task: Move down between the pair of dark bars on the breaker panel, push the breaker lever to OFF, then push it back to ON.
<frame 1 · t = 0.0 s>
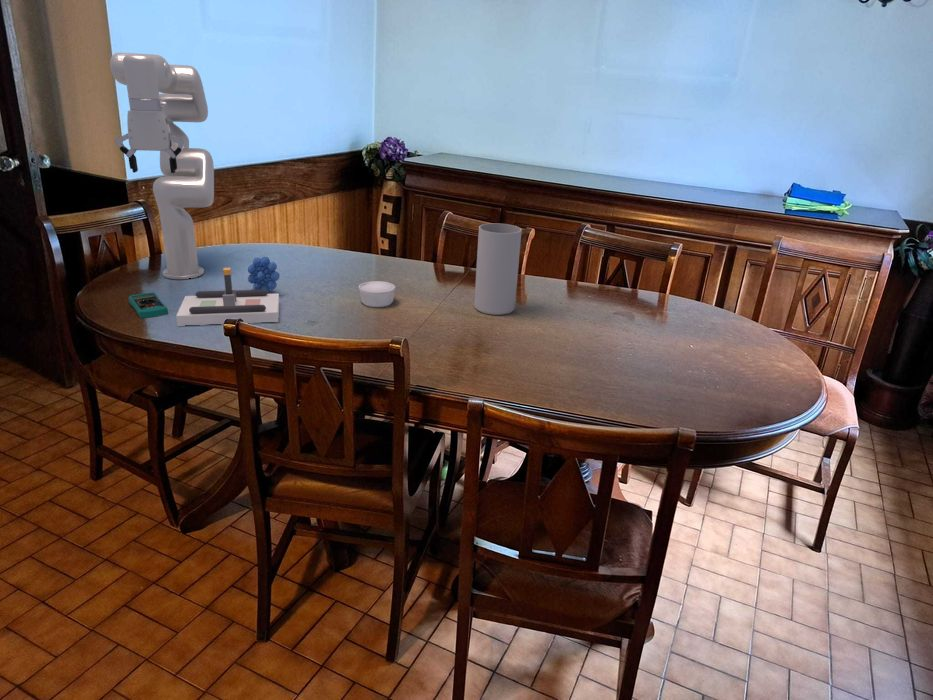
hand: (154, 172, 179), 37 cm above the table, tool pointing down, fingers open, 9 cm apart
cylinder vase: (494, 309, 200), on the table
breaker panel: (231, 314, 184), on the table
ramekin: (377, 303, 200), on the table
breaker lever: (228, 285, 181), point 9 cm above the table, hinge at 0.0°
digital multimeter: (148, 310, 186), on the table
grapes: (266, 293, 203), on the table
pair of dark bars: (230, 301, 183), point 3 cm above the table
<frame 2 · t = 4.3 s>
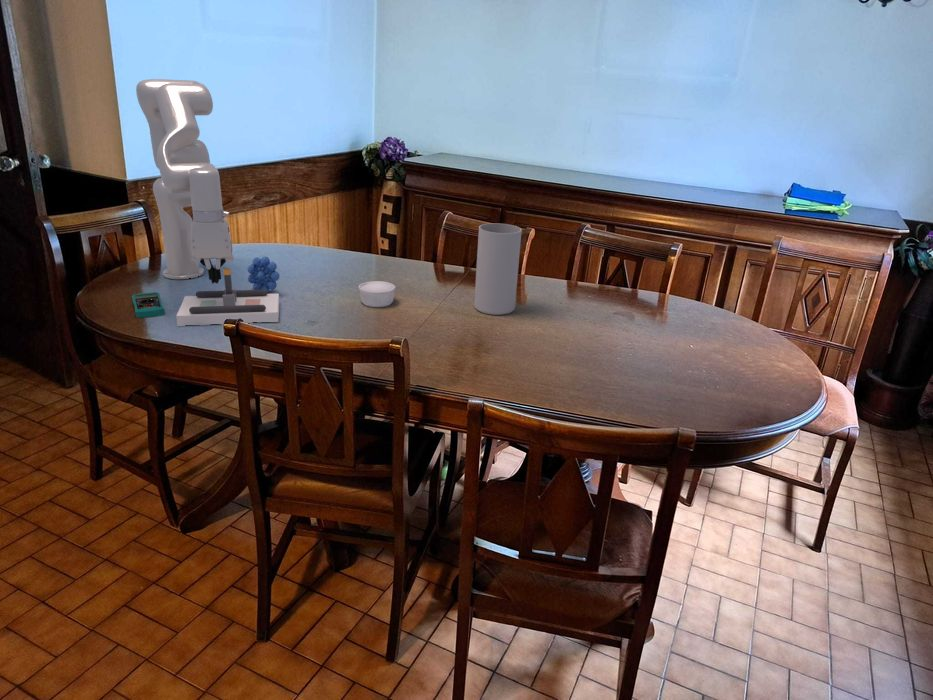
hand: (215, 281, 180), 10 cm above the table, tool pointing down, fingers closed
breaker lever: (228, 285, 181), point 9 cm above the table, hinge at 0.0°, touching gripper
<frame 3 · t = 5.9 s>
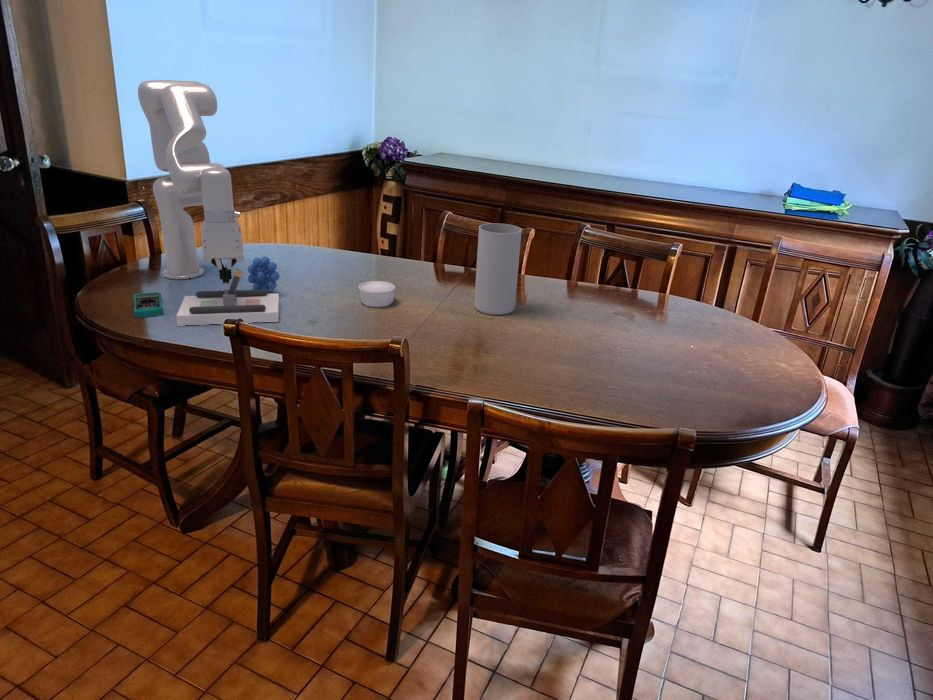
hand: (226, 281, 180), 10 cm above the table, tool pointing down, fingers closed
breaker lever: (233, 286, 181), point 8 cm above the table, hinge at -22.6°
everything else where it was.
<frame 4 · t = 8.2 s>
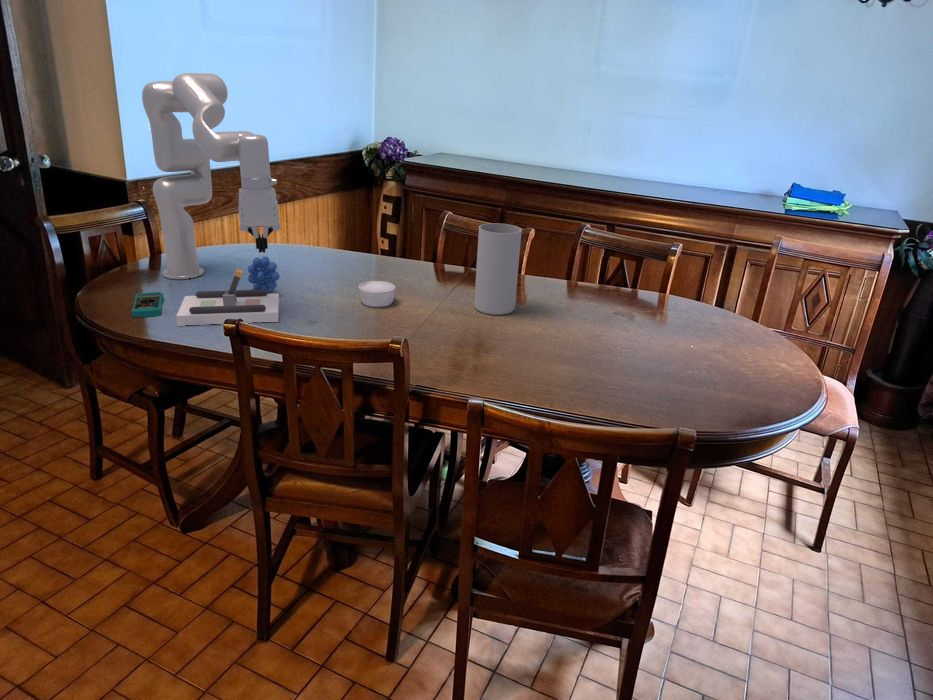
hand: (262, 251, 179), 18 cm above the table, tool pointing down, fingers closed
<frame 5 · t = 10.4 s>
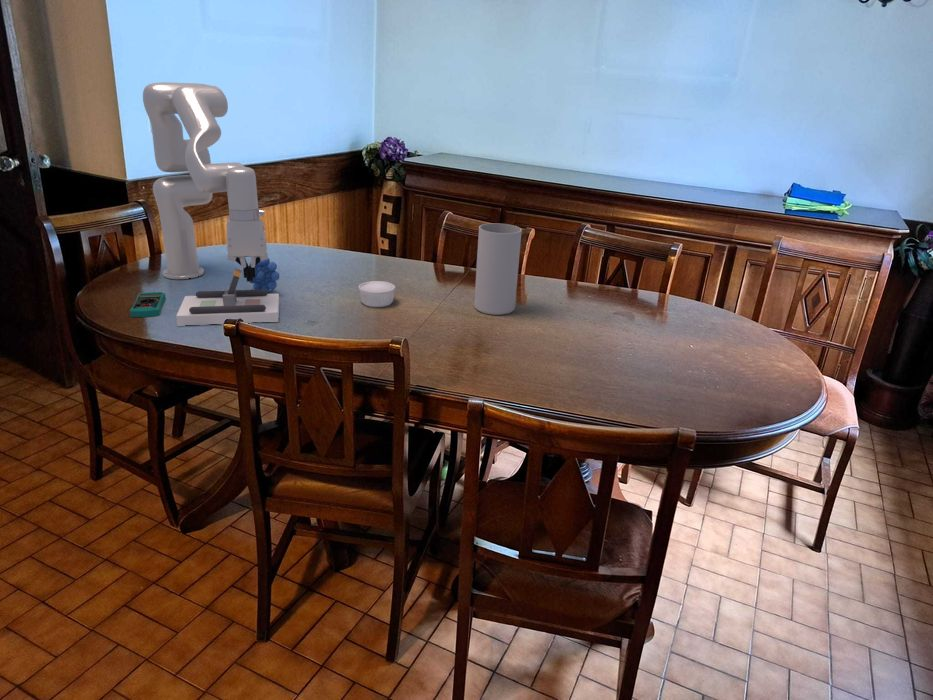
hand: (250, 280, 182), 10 cm above the table, tool pointing down, fingers closed
breaker lever: (233, 286, 181), point 8 cm above the table, hinge at -20.8°, touching gripper
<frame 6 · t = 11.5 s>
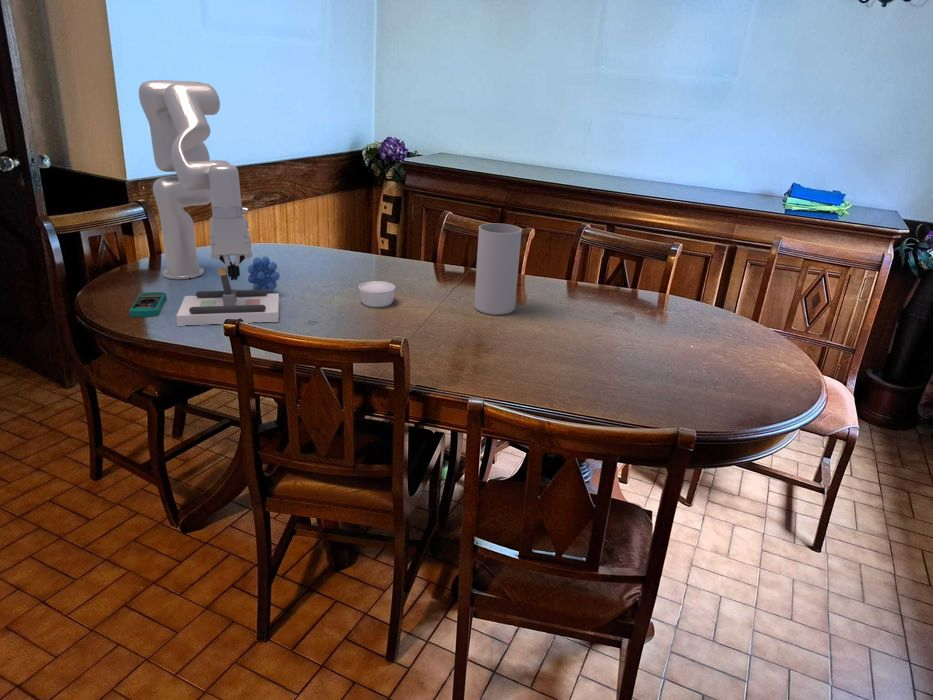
hand: (234, 278, 180), 11 cm above the table, tool pointing down, fingers closed
breaker lever: (226, 285, 181), point 9 cm above the table, hinge at 8.4°, touching gripper
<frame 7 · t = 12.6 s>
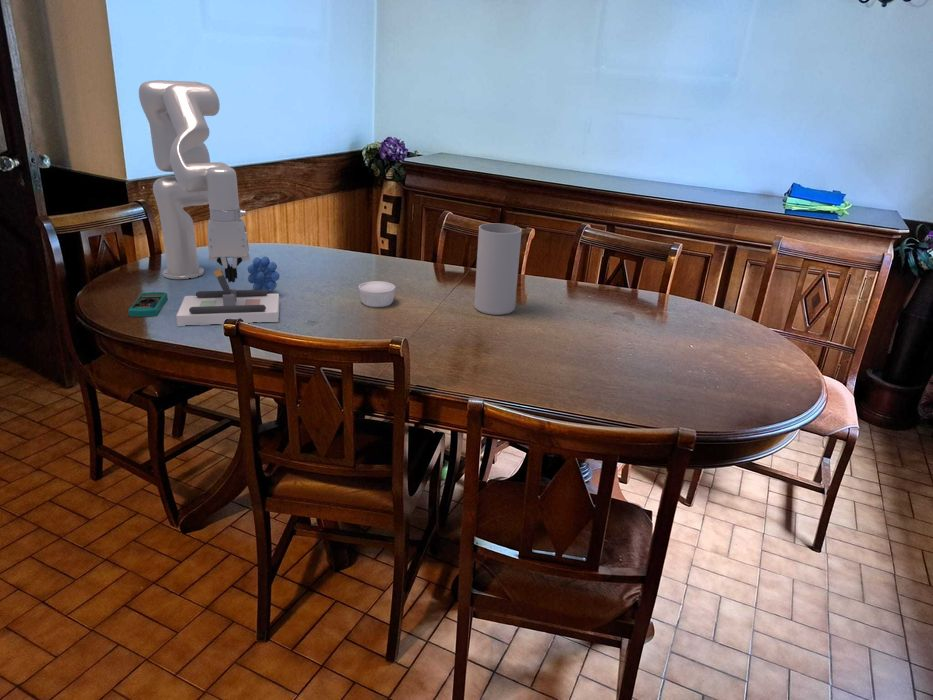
hand: (231, 280, 180), 10 cm above the table, tool pointing down, fingers closed
breaker lever: (224, 285, 181), point 8 cm above the table, hinge at 16.7°
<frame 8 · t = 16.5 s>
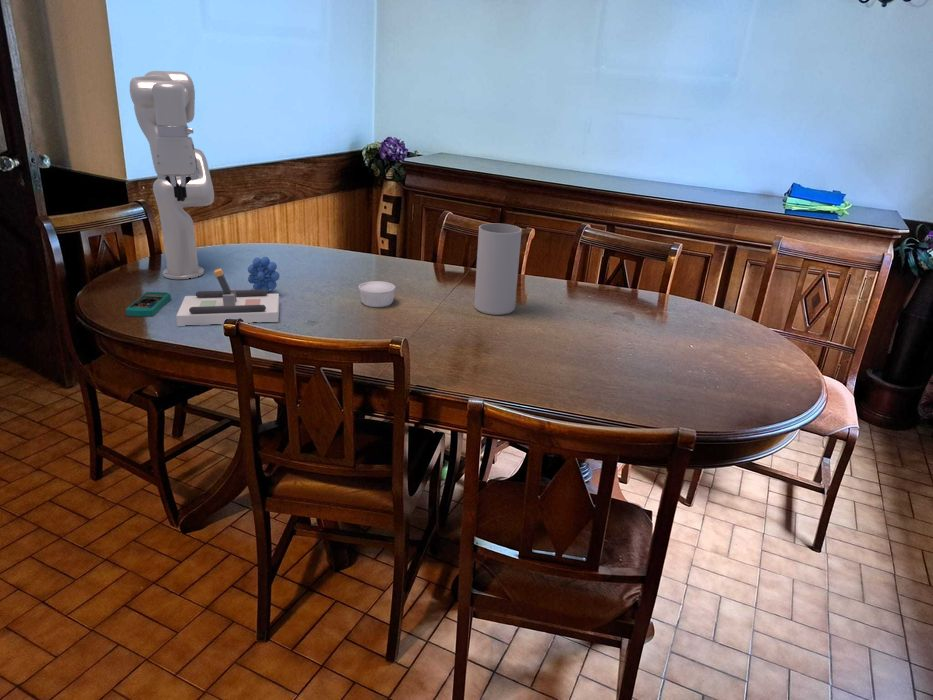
hand: (181, 200, 183), 29 cm above the table, tool pointing down, fingers closed
at the end: breaker lever at +17° (first picture: +0°); digital multimeter moved 1.1 cm from its start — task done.
